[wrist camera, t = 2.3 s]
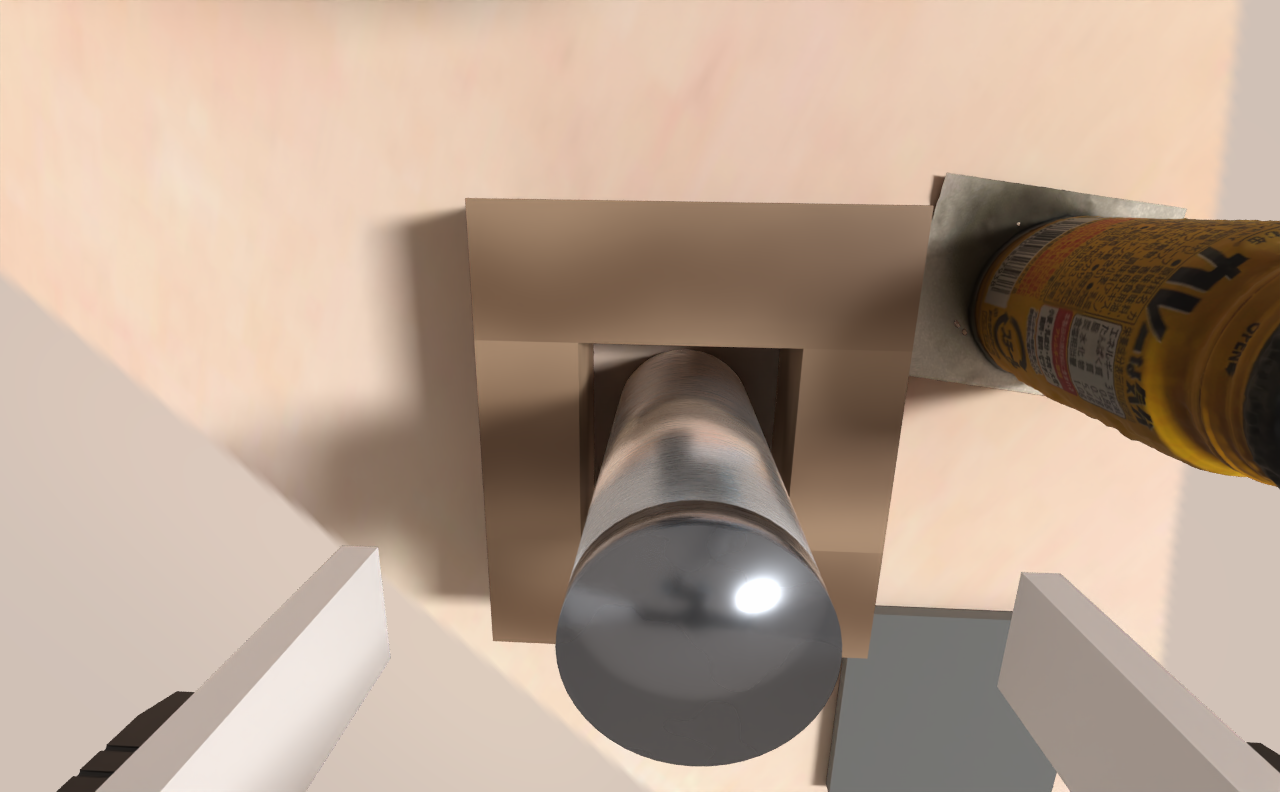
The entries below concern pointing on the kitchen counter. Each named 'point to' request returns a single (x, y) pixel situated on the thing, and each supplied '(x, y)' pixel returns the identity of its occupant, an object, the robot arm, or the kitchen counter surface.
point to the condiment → (1111, 316)
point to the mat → (932, 709)
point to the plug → (694, 580)
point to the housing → (690, 316)
